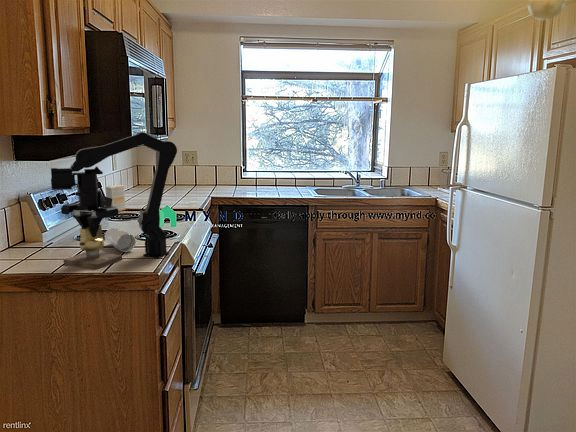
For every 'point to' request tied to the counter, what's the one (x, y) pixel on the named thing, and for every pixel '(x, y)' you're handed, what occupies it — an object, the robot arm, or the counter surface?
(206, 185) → the counter surface
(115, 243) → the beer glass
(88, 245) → the cap
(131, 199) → the counter surface
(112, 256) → the base
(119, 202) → the supplement box
